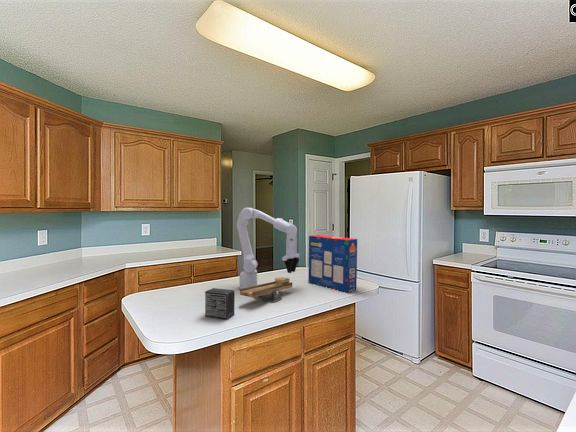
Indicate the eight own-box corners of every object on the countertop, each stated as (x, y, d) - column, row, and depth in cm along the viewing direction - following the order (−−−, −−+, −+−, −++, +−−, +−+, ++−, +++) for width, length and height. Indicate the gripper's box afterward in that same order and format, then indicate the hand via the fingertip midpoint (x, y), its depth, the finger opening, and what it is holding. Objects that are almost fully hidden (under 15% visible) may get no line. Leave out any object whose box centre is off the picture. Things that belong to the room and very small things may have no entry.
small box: (235, 314, 125) (235, 289, 125) (227, 320, 119) (227, 294, 119) (213, 311, 129) (213, 287, 128) (204, 316, 123) (204, 291, 122)
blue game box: (356, 290, 163) (357, 239, 162) (347, 293, 158) (348, 240, 157) (317, 280, 184) (318, 234, 183) (308, 282, 178) (309, 235, 177)
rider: (274, 284, 155) (274, 278, 156) (281, 282, 160) (281, 277, 160) (282, 285, 153) (282, 279, 153) (289, 284, 158) (289, 278, 158)
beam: (239, 294, 136) (239, 289, 136) (279, 284, 162) (279, 280, 162) (253, 297, 132) (253, 292, 132) (292, 287, 157) (292, 282, 157)
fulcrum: (253, 298, 147) (253, 288, 147) (262, 294, 153) (262, 285, 153) (273, 303, 141) (273, 292, 140) (282, 299, 146) (282, 289, 146)
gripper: (290, 249, 155) (289, 275, 155) (304, 246, 167) (304, 270, 167) (279, 248, 159) (278, 273, 159) (294, 245, 171) (293, 269, 171)
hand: (291, 272), depth 163 cm, fingers open, 3 cm apart
